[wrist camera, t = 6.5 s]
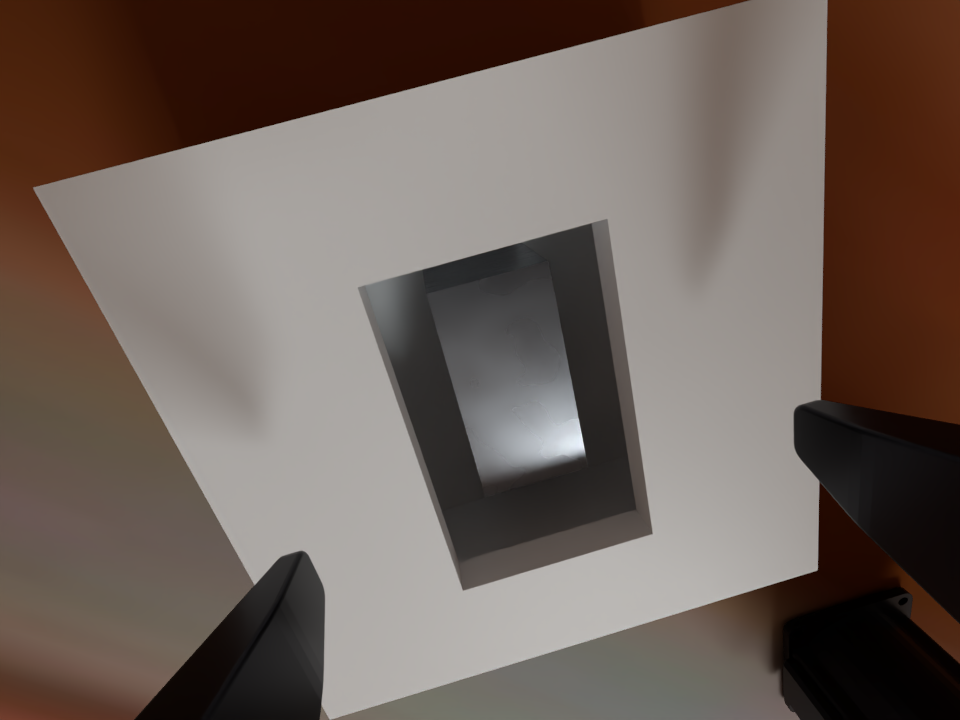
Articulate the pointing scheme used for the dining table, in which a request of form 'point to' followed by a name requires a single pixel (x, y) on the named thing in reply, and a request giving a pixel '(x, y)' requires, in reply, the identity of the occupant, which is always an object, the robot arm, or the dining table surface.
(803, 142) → the box
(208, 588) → the dining table surface
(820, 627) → the robot arm
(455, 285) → the silver metal block
